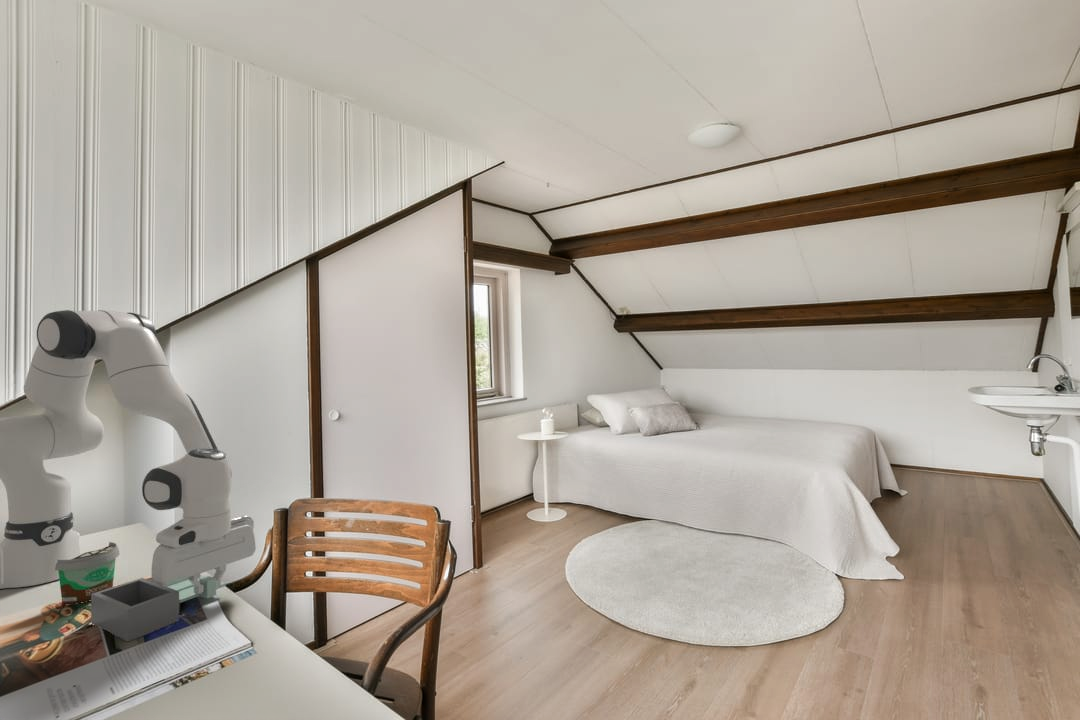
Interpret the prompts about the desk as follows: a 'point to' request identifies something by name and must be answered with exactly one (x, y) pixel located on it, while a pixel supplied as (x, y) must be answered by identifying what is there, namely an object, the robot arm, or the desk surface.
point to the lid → (188, 588)
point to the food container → (87, 574)
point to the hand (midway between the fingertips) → (207, 590)
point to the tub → (134, 608)
